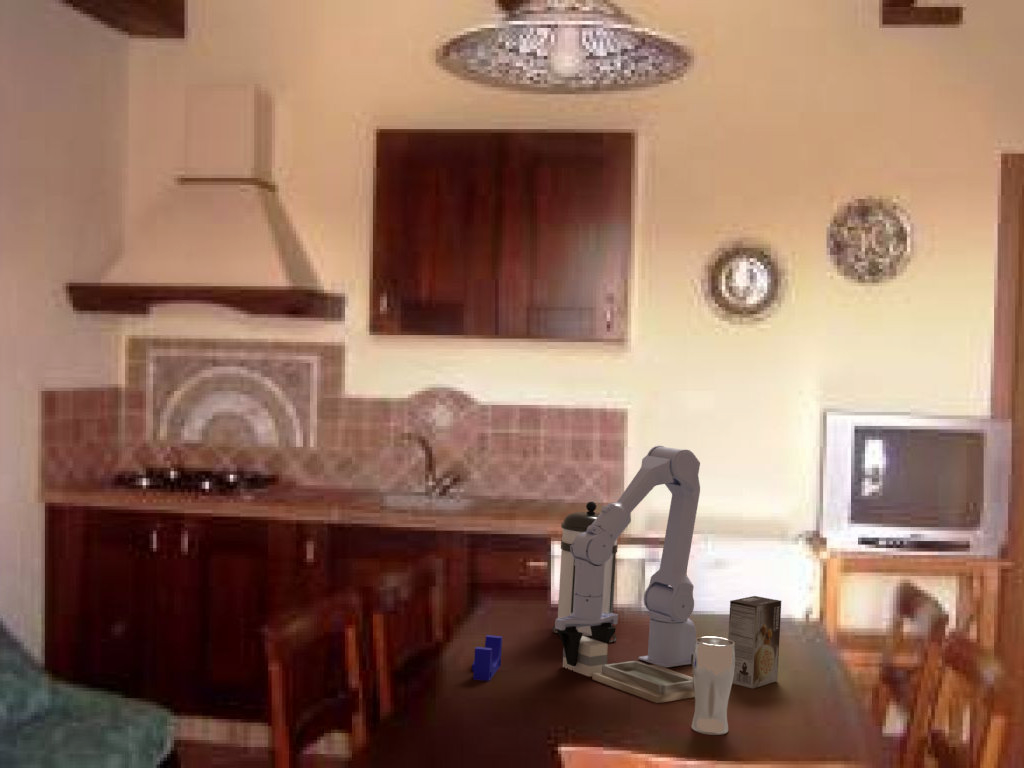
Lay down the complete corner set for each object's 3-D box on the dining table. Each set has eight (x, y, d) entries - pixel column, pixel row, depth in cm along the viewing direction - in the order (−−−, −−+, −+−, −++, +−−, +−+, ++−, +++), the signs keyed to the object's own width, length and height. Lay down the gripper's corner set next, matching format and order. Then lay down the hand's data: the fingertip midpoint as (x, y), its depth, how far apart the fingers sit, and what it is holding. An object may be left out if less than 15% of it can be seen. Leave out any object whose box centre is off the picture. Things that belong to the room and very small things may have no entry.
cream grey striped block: (579, 665, 249) (581, 635, 249) (606, 674, 243) (608, 644, 242) (562, 667, 246) (563, 637, 246) (588, 677, 240) (590, 646, 240)
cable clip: (478, 664, 245) (479, 634, 245) (500, 666, 244) (502, 636, 244) (465, 679, 233) (467, 647, 233) (488, 681, 233) (490, 650, 233)
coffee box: (749, 675, 248) (754, 594, 248) (778, 681, 244) (783, 600, 243) (724, 682, 241) (729, 599, 241) (753, 689, 237) (758, 605, 237)
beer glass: (684, 722, 212) (689, 635, 212) (724, 724, 213) (729, 636, 212) (694, 735, 205) (699, 645, 205) (735, 736, 206) (740, 646, 205)
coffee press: (631, 636, 277) (639, 502, 277) (597, 648, 264) (605, 507, 263) (564, 624, 286) (571, 494, 286) (528, 635, 273) (535, 499, 272)
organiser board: (653, 670, 247) (655, 633, 247) (719, 692, 233) (721, 653, 233) (592, 679, 238) (594, 640, 238) (657, 703, 223) (659, 662, 223)
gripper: (603, 588, 252) (599, 654, 252) (546, 593, 243) (543, 662, 243) (626, 594, 246) (622, 662, 246) (569, 599, 237) (565, 670, 238)
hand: (584, 663), depth 244 cm, fingers open, 6 cm apart
